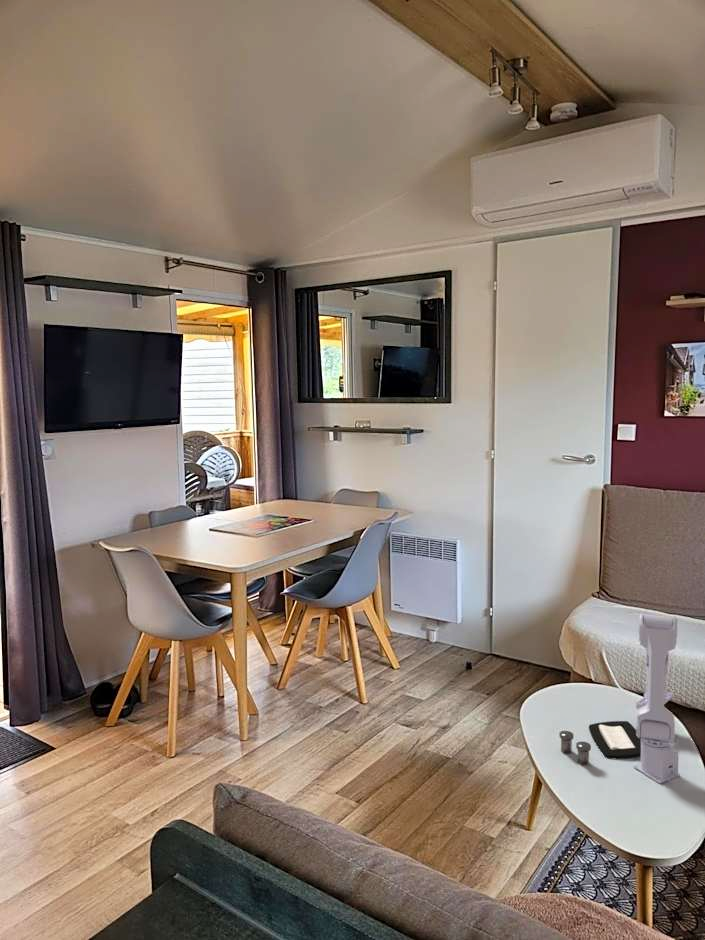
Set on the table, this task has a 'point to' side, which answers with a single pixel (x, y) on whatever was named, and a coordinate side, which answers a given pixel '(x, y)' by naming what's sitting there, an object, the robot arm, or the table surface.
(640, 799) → the table surface
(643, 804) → the table surface
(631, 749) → the light switch
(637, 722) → the robot arm
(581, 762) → the metal bosses
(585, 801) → the table surface
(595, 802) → the table surface
